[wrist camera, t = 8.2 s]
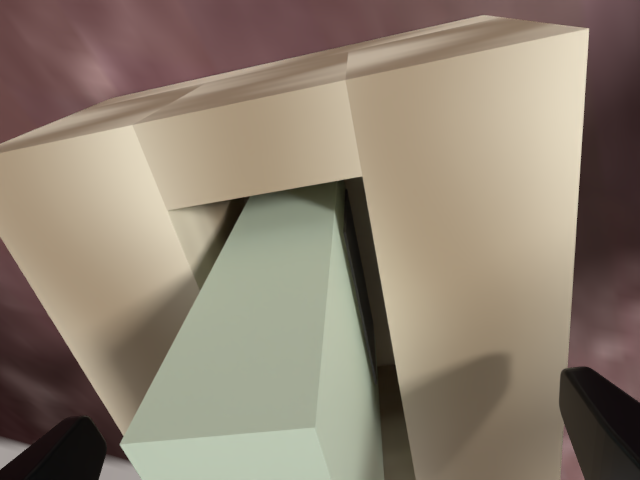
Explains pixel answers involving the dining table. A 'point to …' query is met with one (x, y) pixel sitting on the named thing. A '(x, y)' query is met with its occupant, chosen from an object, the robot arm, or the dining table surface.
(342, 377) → the green rectangular block
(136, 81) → the dining table surface
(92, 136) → the hollow square frame
